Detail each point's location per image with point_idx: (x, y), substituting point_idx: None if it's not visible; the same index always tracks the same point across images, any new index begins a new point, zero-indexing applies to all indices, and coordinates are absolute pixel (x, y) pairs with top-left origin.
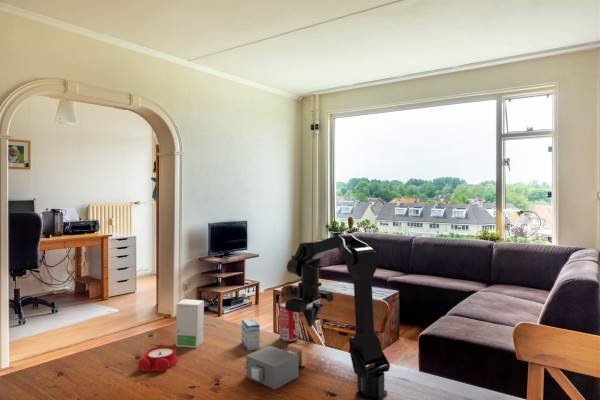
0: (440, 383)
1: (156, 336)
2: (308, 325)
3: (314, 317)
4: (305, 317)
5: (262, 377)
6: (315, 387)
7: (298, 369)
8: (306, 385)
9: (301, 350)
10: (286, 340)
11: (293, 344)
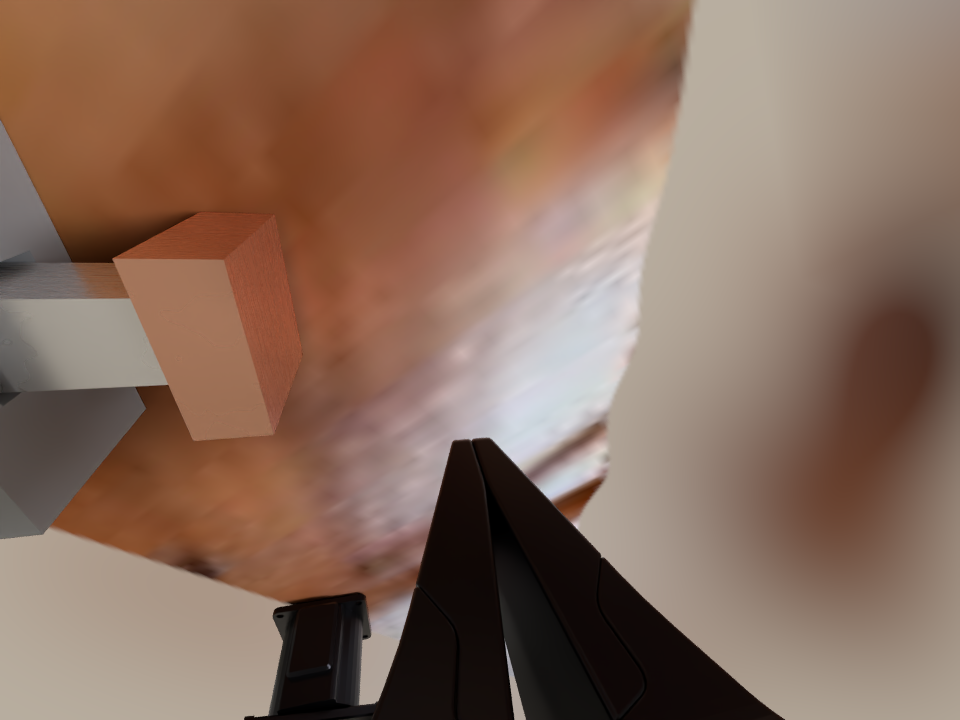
0: None
1: None
2: (449, 455)
3: (509, 651)
4: (417, 580)
5: None
6: (165, 517)
7: (117, 442)
8: (130, 487)
9: (195, 434)
10: None
11: (203, 298)
